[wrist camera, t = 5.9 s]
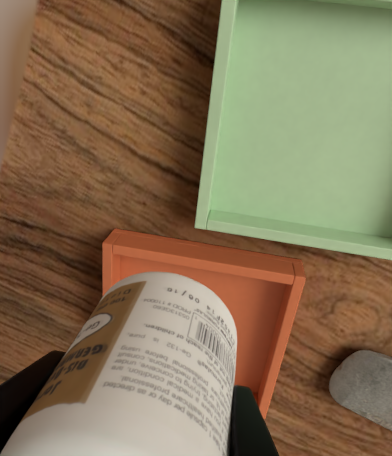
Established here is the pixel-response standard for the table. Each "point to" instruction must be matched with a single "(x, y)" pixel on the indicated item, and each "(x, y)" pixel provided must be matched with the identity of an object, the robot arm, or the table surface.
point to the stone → (365, 386)
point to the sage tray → (301, 125)
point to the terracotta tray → (223, 294)
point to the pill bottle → (140, 377)
